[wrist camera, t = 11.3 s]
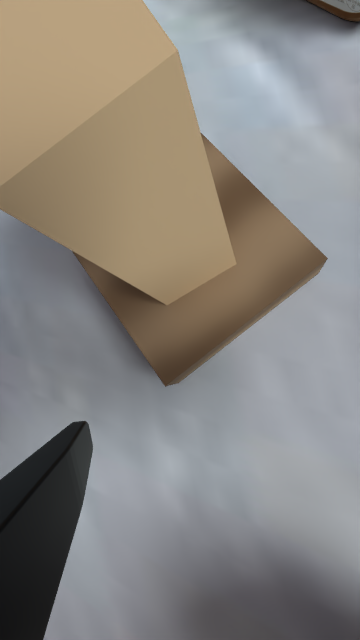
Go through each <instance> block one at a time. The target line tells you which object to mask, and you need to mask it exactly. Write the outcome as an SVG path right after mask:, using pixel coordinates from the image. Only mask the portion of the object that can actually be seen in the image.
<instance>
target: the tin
mask: <svg viewBox="0 0 360 640" xmlns="http://www.w3.org/2000/svg"><path fill="white" fill-rule="evenodd" d="M307 1H309V2H311V3H313V4H315V5H316V6H318V7H320V8H322V9H324V10H326V11H328V12H330V13H332V14H334V15H336V16H338V17H340V18H343V19H345V20H349V21H360V0H307Z"/></svg>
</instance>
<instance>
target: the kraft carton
mask: <svg viewBox="0 0 360 640" xmlns="http://www.w3.org/2000/svg"><path fill="white" fill-rule="evenodd" d="M0 209H1V210H2V211H4V212H6V213H8V214H9V215H11V216H13V217H15V218H16V219H18V220H20V221H21V222H23V223H25V224H27V225H28V226H30V227H32V228H34V229H35V230H37V231H39V232H41V233H42V234H44V235H46V236H48V237H49V238H51V239H53V240H54V241H56V242H58V243H60V244H61V245H63V246H65V247H67V248H68V249H70V250H72V251H74V252H75V253H77V254H79V255H80V256H82V257H84V258H86V259H87V260H89V261H91V262H93V263H94V264H96V265H98V266H100V267H101V268H103V269H105V270H107V271H108V272H110V273H112V274H113V275H115V276H117V277H119V278H120V279H122V280H124V281H126V282H127V283H129V284H131V285H133V286H134V287H136V288H138V289H139V290H141V291H143V292H145V293H146V294H148V295H150V296H152V297H153V298H155V299H157V300H159V301H160V302H162V303H164V304H165V305H169V304H170V303H172V302H174V301H175V300H177V299H179V298H180V297H182V296H184V295H185V294H187V293H189V292H190V291H192V290H194V289H195V288H197V287H199V286H200V285H202V284H204V283H205V282H207V281H209V280H210V279H212V278H214V277H215V276H217V275H219V274H221V273H222V272H224V271H226V270H227V269H229V268H231V267H232V266H234V265H236V260H235V257H234V253H233V249H232V246H231V242H230V239H229V235H228V231H227V228H226V224H225V220H224V217H223V213H222V209H221V206H220V202H219V198H218V195H217V191H216V188H215V184H214V180H213V177H212V173H211V169H210V166H209V162H208V158H207V155H206V151H205V148H204V144H203V140H202V137H201V133H200V129H199V126H198V122H197V118H196V115H195V111H194V107H193V104H192V100H191V97H190V93H189V89H188V86H187V82H186V78H185V75H184V71H183V67H182V64H181V60H180V56H179V53H178V50H177V48H176V47H175V46H174V44H173V43H172V41H171V40H170V39H169V37H168V36H167V34H166V33H165V32H164V30H163V29H162V27H161V26H160V24H159V23H158V22H157V20H156V19H155V17H154V16H153V15H152V13H151V12H150V10H149V9H148V8H147V6H146V5H145V3H144V2H143V0H0Z"/></svg>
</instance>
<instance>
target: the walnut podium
mask: <svg viewBox="0 0 360 640" xmlns="http://www.w3.org/2000/svg"><path fill="white" fill-rule="evenodd" d="M200 133H201V132H200ZM201 137H202V140H203V144H204V148H205V151H206V155H207V158H208V162H209V166H210V169H211V173H212V177H213V180H214V184H215V188H216V191H217V195H218V198H219V202H220V206H221V209H222V213H223V217H224V220H225V224H226V228H227V231H228V235H229V239H230V242H231V246H232V249H233V253H234V257H235V260H236V265H234V266H232V267H231V268H229V269H227V270H226V271H224V272H222V273H221V274H219V275H217V276H215V277H214V278H212V279H210V280H209V281H207V282H205V283H204V284H202V285H200V286H199V287H197V288H195V289H194V290H192V291H190V292H189V293H187V294H185V295H184V296H182V297H180V298H179V299H177V300H175V301H174V302H172V303H170V304H169V305H165V304H164V303H162V302H160V301H159V300H157V299H155V298H153V297H152V296H150V295H148V294H146V293H145V292H143V291H141V290H139V289H138V288H136V287H134V286H133V285H131V284H129V283H127V282H126V281H124V280H122V279H120V278H119V277H117V276H115V275H113V274H112V273H110V272H108V271H107V270H105V269H103V268H101V267H100V266H98V265H96V264H94V263H93V262H91V261H89V260H87V259H86V258H84V257H82V256H80V255H79V254H77V253H75V252H74V251H72V252H73V253H74V254H75V256H76V257H77V259H78V260H79V262H80V263H81V265H82V266H83V268H84V269H85V270H86V272H87V273H88V275H89V276H90V278H91V279H92V281H93V282H94V284H95V285H96V286H97V288H98V289H99V291H100V292H101V294H102V295H103V297H104V298H105V300H106V301H107V302H108V304H109V305H110V307H111V308H112V310H113V311H114V313H115V314H116V315H117V317H118V318H119V320H120V321H121V323H122V324H123V326H124V327H125V329H126V330H127V331H128V333H129V334H130V336H131V337H132V339H133V340H134V342H135V343H136V345H137V346H138V347H139V349H140V350H141V352H142V353H143V355H144V356H145V358H146V359H147V361H148V362H149V363H150V365H151V366H152V368H153V369H154V371H155V372H156V374H157V375H158V377H159V378H160V379H161V381H162V382H163V384H164V385H165V386H169V385H173V384H176V383H179V382H180V381H182V380H183V379H184V378H186V377H187V376H188V375H189V374H191V373H192V372H193V371H194V370H196V369H197V368H198V367H200V366H201V365H202V364H203V363H205V362H206V361H207V360H209V359H210V358H211V357H212V356H214V355H215V354H216V353H217V352H219V351H220V350H221V349H223V348H224V347H225V346H226V345H228V344H229V343H230V342H231V341H233V340H234V339H235V338H237V337H238V336H239V335H240V334H242V333H243V332H244V331H246V330H247V329H248V328H249V327H251V326H252V325H253V324H254V323H256V322H257V321H258V320H260V319H261V318H262V317H263V316H265V315H266V314H267V313H269V312H270V311H271V310H272V309H274V308H275V307H276V306H277V305H279V304H280V303H281V302H283V301H284V300H285V299H286V298H288V297H289V296H290V295H291V294H293V293H294V292H295V291H297V290H298V289H299V288H300V287H302V286H303V285H304V284H306V283H307V282H308V281H309V280H311V279H312V278H313V277H314V276H316V275H317V274H318V273H319V272H320V270H321V268H322V267H323V265H324V264H325V262H326V260H327V259H328V258H327V257H326V256H325V255H324V254H323V253H322V252H321V251H320V250H319V249H318V248H316V247H315V246H314V245H313V244H312V243H311V242H310V241H309V240H308V239H307V238H306V237H305V236H304V235H303V234H302V233H301V232H300V231H299V230H298V229H297V228H296V227H295V226H294V225H293V224H292V223H291V222H290V221H289V220H288V219H287V218H286V217H285V216H284V215H283V214H282V213H281V212H280V211H279V210H278V209H277V208H276V207H275V206H274V205H273V204H272V203H271V202H270V201H269V200H268V199H267V198H266V197H265V196H264V195H263V194H262V193H261V192H260V191H259V190H258V189H257V188H256V187H255V186H254V185H253V184H252V183H251V182H250V181H249V180H248V179H247V178H246V177H245V176H244V175H243V174H242V173H241V172H240V171H239V170H238V169H237V168H236V167H235V166H234V165H233V164H232V163H231V162H230V161H229V160H228V159H227V158H226V157H225V156H224V155H223V154H222V153H221V152H220V151H219V150H218V149H217V148H216V147H215V146H214V145H213V144H212V143H211V142H210V141H209V140H208V139H207V138H206V137H205V136H204V135H203V134H202V133H201Z"/></svg>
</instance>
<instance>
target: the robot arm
mask: <svg viewBox="0 0 360 640" xmlns="http://www.w3.org/2000/svg"><path fill="white" fill-rule="evenodd" d="M92 451H93V444H92V439H91V434H90V429H89V425H88V423H87V422H86V421H79V422H72V423H71V424H70V425H68V426H67V427H66V428H65V429H63V430H62V431H61V432H60V433H58V434H57V435H56V436H55V437H53V438H52V439H51V440H50V441H48V442H47V443H46V444H45V445H43V446H42V447H41V448H40V449H38V450H37V451H36V452H35V453H33V454H32V455H31V456H30V457H28V458H27V459H26V460H25V461H23V462H22V463H21V464H20V465H18V466H17V467H16V468H15V469H13V470H12V471H11V472H10V473H8V474H7V475H6V476H4V477H3V478H2V479H1V480H0V640H43V638H44V635H45V631H46V628H47V625H48V621H49V618H50V614H51V611H52V608H53V604H54V601H55V597H56V594H57V591H58V587H59V584H60V580H61V577H62V574H63V570H64V567H65V563H66V560H67V557H68V553H69V550H70V546H71V543H72V540H73V536H74V533H75V529H76V526H77V523H78V519H79V516H80V512H81V509H82V505H83V500H84V495H85V490H86V485H87V479H88V474H89V468H90V463H91V457H92Z"/></svg>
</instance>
